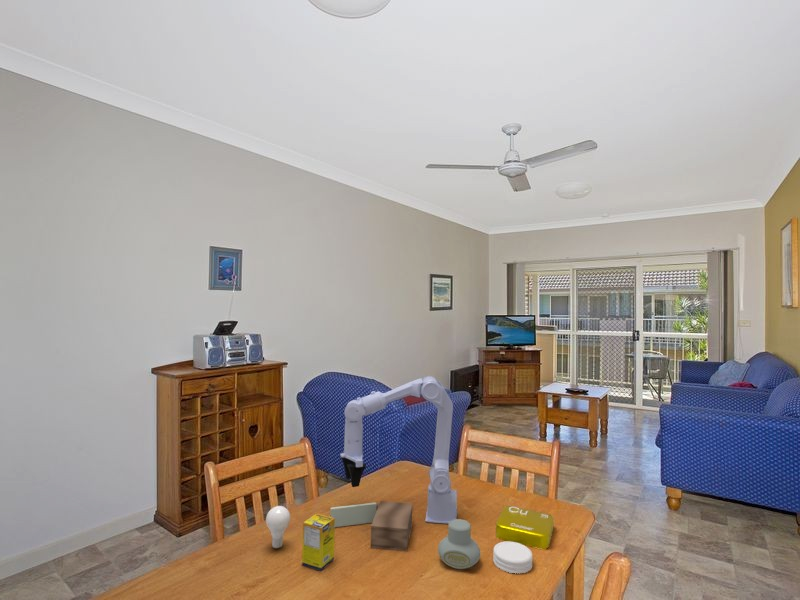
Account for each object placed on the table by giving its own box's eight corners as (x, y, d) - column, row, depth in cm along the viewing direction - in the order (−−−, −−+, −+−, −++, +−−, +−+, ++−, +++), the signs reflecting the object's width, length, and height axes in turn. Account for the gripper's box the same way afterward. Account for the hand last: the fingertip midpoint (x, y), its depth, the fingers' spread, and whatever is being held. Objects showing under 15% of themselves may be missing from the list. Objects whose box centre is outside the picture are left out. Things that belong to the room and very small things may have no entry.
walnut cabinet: (412, 523, 137) (412, 503, 137) (406, 551, 121) (407, 528, 121) (379, 520, 138) (380, 500, 138) (370, 547, 122) (371, 525, 123)
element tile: (493, 539, 130) (494, 522, 130) (504, 517, 143) (505, 502, 143) (548, 552, 123) (548, 535, 123) (554, 528, 137) (554, 513, 137)
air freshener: (435, 567, 114) (436, 528, 114) (440, 550, 122) (441, 513, 122) (478, 575, 111) (479, 535, 111) (481, 557, 119) (482, 520, 119)
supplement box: (334, 559, 116) (335, 517, 117) (321, 571, 111) (322, 527, 111) (315, 553, 119) (316, 512, 119) (301, 565, 113) (302, 522, 114)
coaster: (525, 580, 110) (526, 565, 110) (487, 566, 115) (487, 553, 115) (536, 561, 119) (537, 547, 119) (500, 549, 124) (500, 536, 124)
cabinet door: (378, 521, 137) (378, 503, 137) (330, 527, 133) (331, 509, 133) (376, 518, 139) (377, 501, 139) (329, 524, 134) (330, 506, 134)
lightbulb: (293, 544, 123) (294, 504, 124) (280, 556, 117) (281, 514, 118) (274, 539, 125) (275, 500, 126) (260, 551, 119) (261, 509, 120)
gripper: (335, 434, 147) (334, 475, 147) (347, 447, 133) (346, 493, 133) (356, 432, 149) (355, 473, 149) (369, 445, 136) (368, 489, 136)
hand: (352, 482), depth 141 cm, fingers open, 6 cm apart
